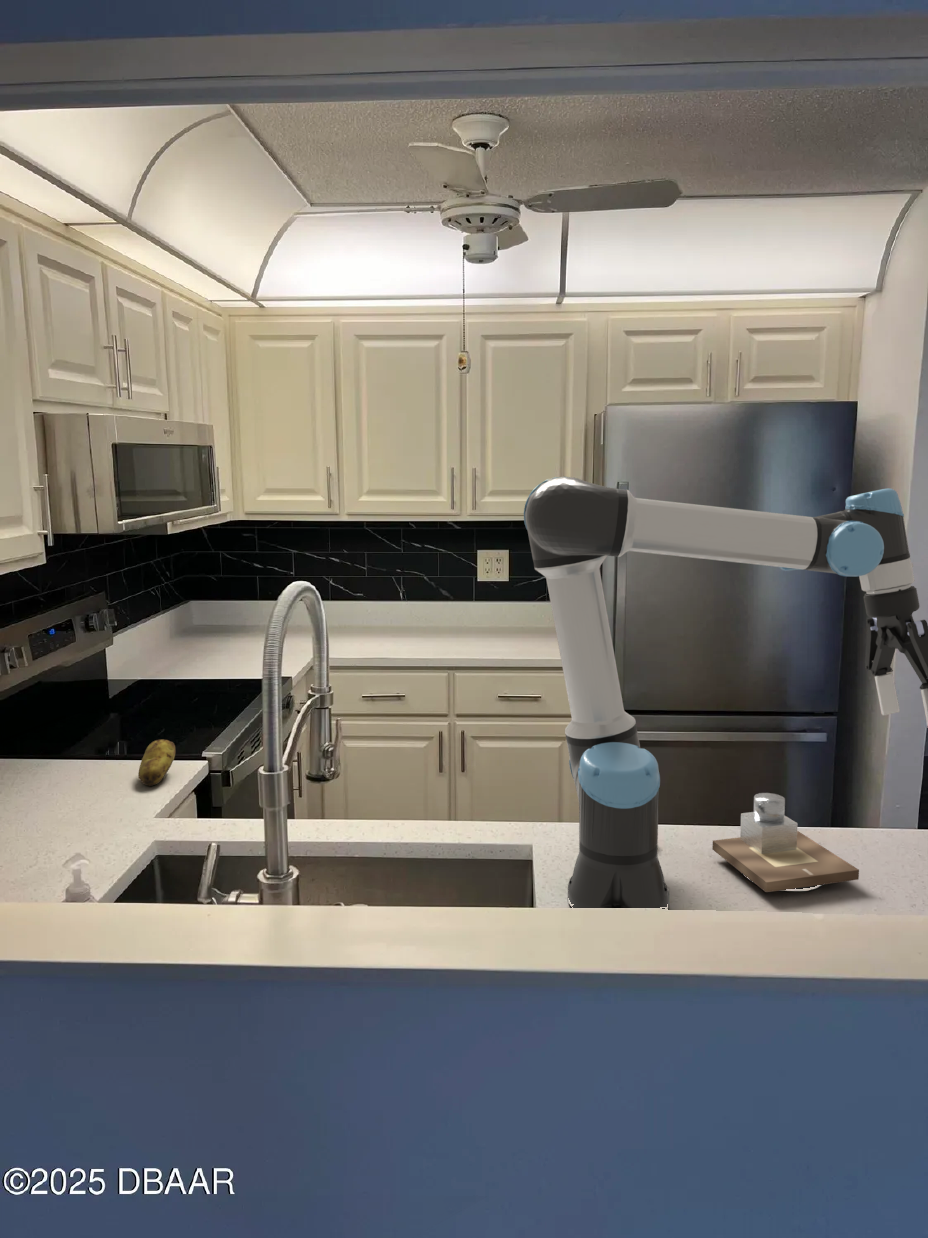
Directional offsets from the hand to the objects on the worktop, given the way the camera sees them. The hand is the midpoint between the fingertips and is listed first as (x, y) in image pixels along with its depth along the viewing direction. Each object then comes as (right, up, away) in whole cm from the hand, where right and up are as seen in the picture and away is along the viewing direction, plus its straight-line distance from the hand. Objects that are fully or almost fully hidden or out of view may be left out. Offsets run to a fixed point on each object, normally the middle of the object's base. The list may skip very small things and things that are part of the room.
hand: (913, 720), depth 135 cm
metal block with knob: (-20, -21, +8) cm, 30 cm away
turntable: (-19, -24, +4) cm, 31 cm away
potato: (-139, -20, +56) cm, 151 cm away
